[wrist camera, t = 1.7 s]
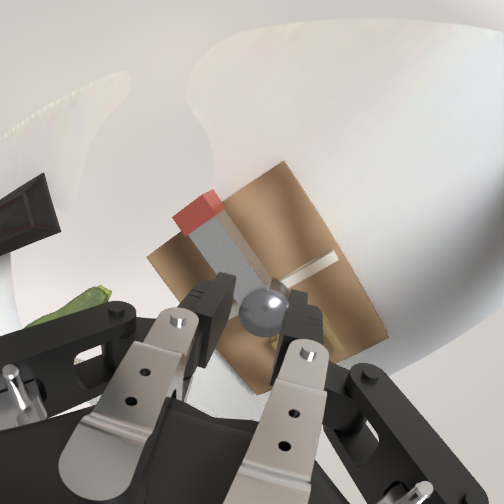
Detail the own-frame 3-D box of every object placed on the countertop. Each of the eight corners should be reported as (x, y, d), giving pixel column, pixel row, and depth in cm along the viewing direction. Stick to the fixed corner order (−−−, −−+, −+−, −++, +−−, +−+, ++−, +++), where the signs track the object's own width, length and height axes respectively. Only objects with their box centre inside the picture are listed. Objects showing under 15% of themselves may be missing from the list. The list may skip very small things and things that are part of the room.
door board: (284, 160, 30) (281, 162, 26) (386, 331, 33) (392, 348, 30) (151, 253, 35) (137, 264, 32) (258, 389, 39) (254, 407, 36)
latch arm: (299, 306, 30) (298, 324, 27) (262, 325, 32) (256, 344, 28) (217, 186, 28) (205, 191, 25) (181, 213, 29) (165, 221, 26)
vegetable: (109, 311, 40) (13, 404, 21) (86, 291, 39) (-16, 373, 21) (120, 290, 38) (14, 384, 19) (96, 269, 38) (-17, 350, 19)
